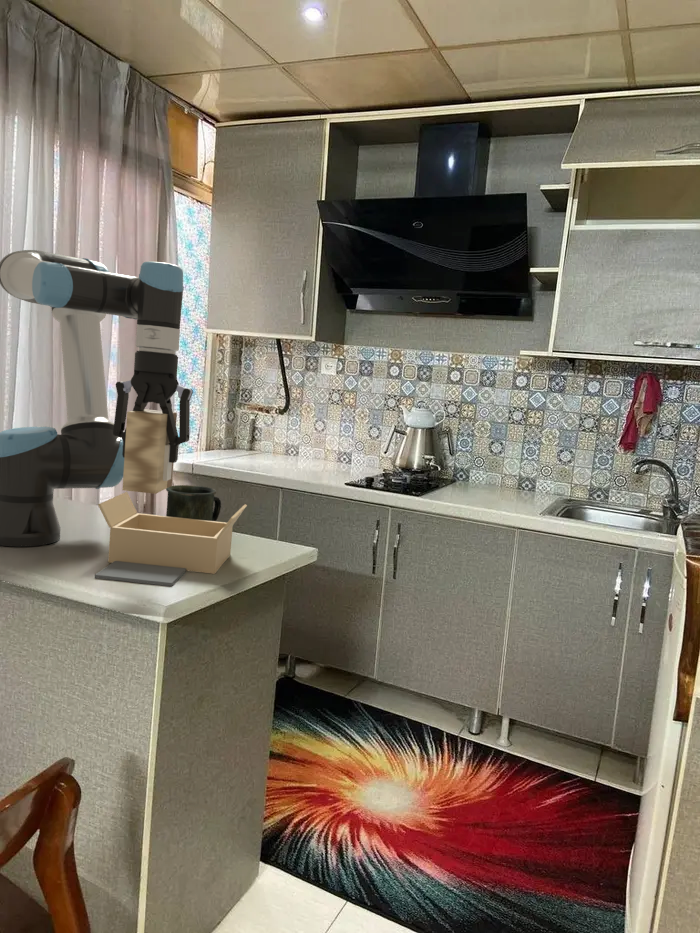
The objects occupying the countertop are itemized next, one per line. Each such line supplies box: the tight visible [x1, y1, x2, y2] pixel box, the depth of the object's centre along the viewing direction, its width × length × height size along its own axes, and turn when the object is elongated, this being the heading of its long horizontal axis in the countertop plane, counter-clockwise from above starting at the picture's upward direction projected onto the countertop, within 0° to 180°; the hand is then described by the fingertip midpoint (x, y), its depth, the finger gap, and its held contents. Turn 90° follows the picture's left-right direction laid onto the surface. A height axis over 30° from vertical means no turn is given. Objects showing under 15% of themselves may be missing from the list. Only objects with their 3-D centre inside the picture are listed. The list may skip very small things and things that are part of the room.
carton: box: [97, 491, 248, 575], centre depth 145 cm, size 26×15×12 cm, turn 88°
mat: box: [94, 561, 187, 587], centre depth 133 cm, size 14×10×1 cm
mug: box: [165, 484, 222, 522], centre depth 162 cm, size 11×15×12 cm
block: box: [121, 408, 178, 495], centre depth 130 cm, size 6×10×14 cm, turn 178°
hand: (148, 477), depth 131 cm, fingers closed on block, 6 cm apart
